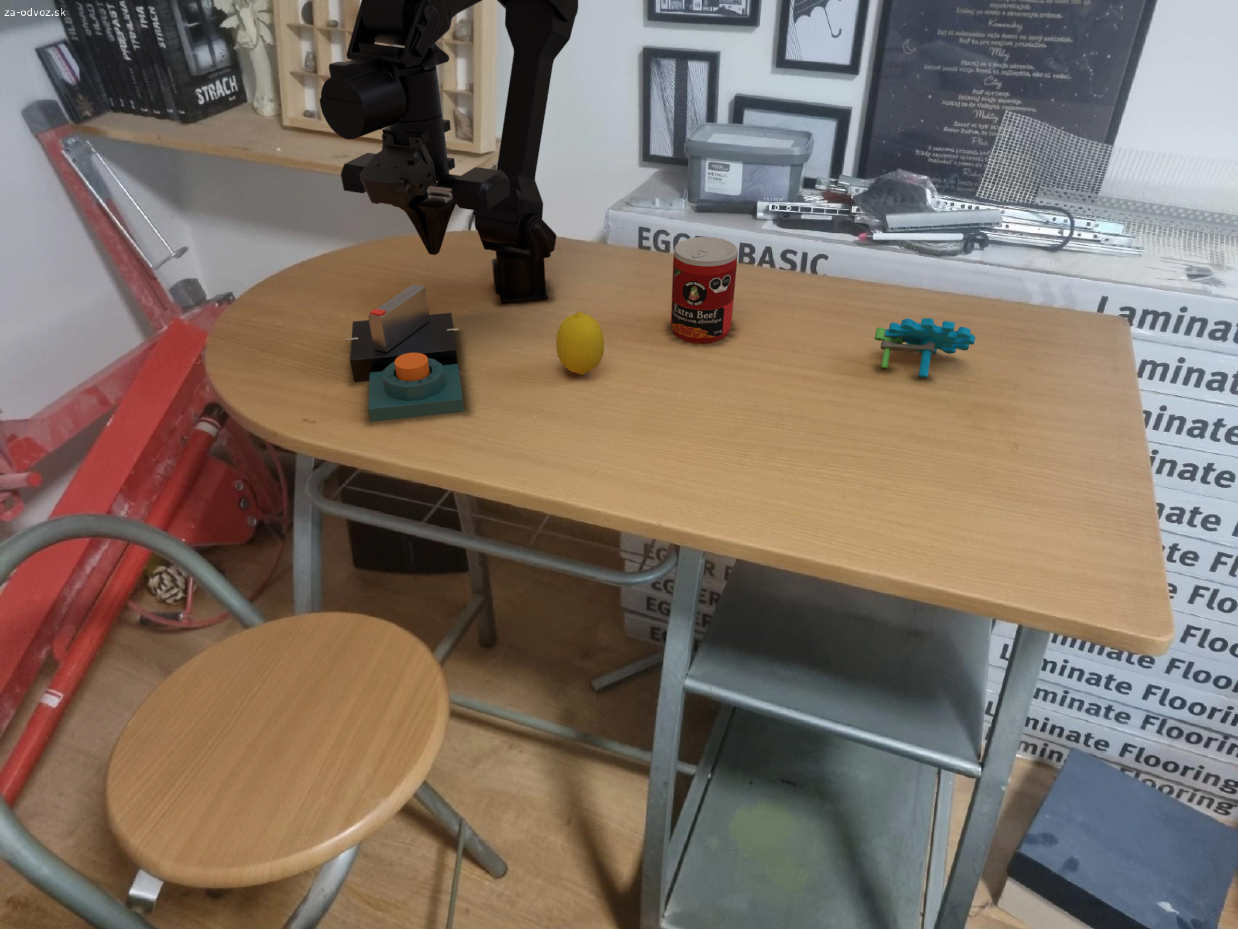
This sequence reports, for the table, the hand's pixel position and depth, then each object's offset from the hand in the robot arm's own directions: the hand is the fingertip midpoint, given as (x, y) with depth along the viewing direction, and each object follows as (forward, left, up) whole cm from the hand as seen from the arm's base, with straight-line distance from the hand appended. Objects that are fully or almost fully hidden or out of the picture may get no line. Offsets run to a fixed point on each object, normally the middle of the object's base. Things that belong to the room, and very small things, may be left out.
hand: (434, 253), depth 102 cm
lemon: (-15, +12, -12) cm, 22 cm away
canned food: (-32, +4, -12) cm, 34 cm away
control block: (+4, +13, -12) cm, 18 cm away
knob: (+5, +3, -9) cm, 10 cm away
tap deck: (+5, +3, -12) cm, 13 cm away
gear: (-55, +18, -12) cm, 59 cm away
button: (+4, +13, -8) cm, 16 cm away
